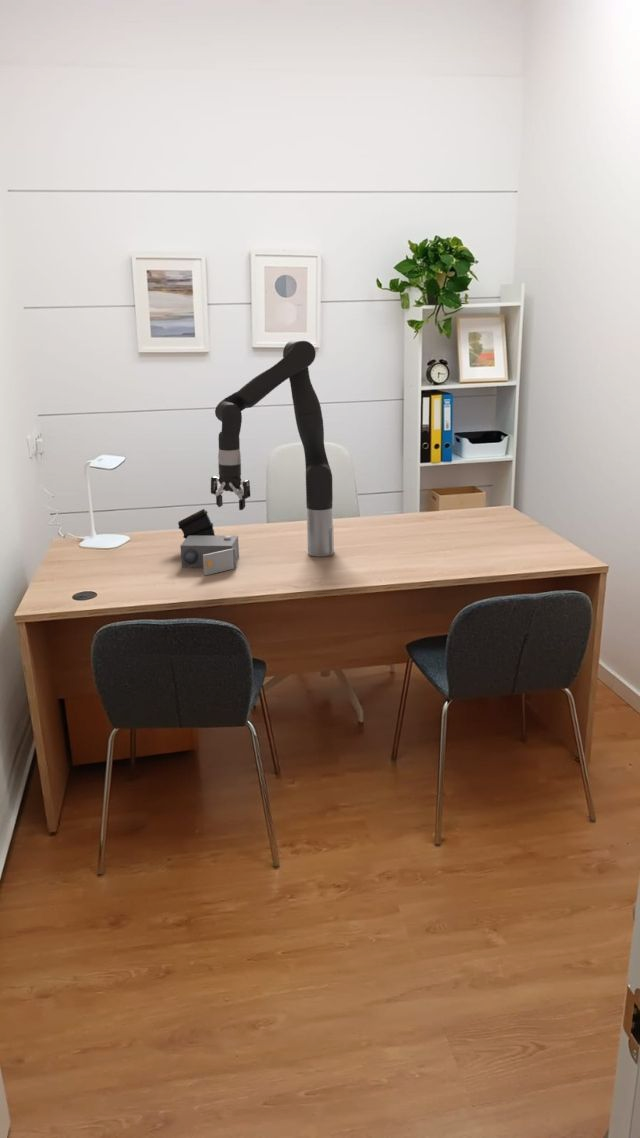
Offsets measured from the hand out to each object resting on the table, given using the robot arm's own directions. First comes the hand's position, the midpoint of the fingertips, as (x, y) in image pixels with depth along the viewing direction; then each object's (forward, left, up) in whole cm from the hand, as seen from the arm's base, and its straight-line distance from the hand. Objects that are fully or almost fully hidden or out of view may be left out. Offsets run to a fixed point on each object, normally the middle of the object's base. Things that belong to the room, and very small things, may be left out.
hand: (230, 508), depth 294 cm
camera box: (+9, -2, -20) cm, 22 cm away
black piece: (+17, -17, -21) cm, 31 cm away
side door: (+3, +9, -20) cm, 22 cm away
